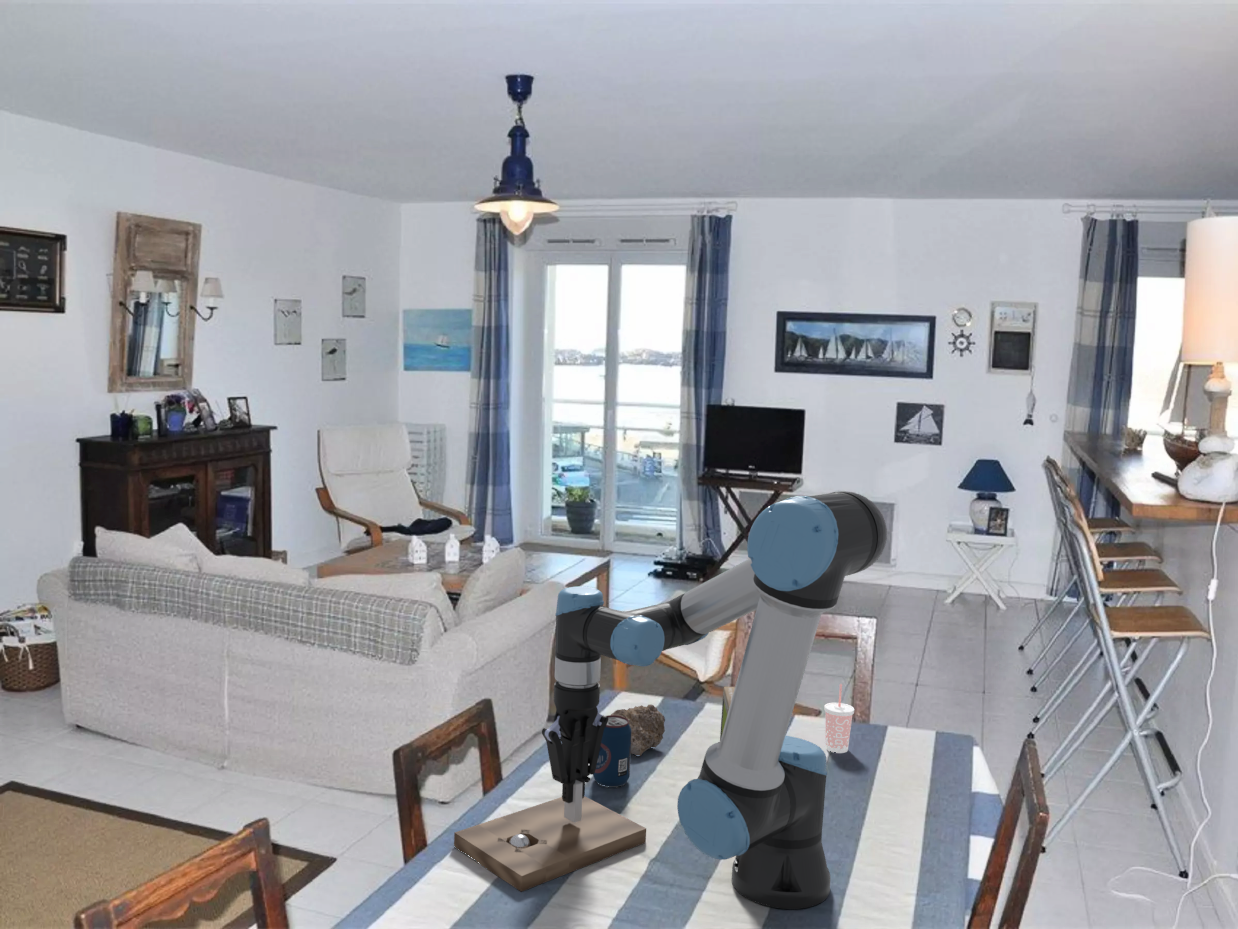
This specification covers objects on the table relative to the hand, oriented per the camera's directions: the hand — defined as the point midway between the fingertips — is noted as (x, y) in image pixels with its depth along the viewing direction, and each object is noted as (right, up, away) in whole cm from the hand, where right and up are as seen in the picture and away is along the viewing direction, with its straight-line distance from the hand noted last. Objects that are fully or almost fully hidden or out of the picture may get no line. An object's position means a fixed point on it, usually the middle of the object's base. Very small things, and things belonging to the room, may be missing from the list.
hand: (572, 818), depth 181 cm
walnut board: (-3, -4, -2) cm, 5 cm away
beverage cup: (+53, -1, +45) cm, 70 cm away
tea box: (+33, -1, +32) cm, 46 cm away
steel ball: (-8, -2, -7) cm, 11 cm away
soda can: (+6, -1, +24) cm, 25 cm away
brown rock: (+11, +1, +41) cm, 42 cm away
